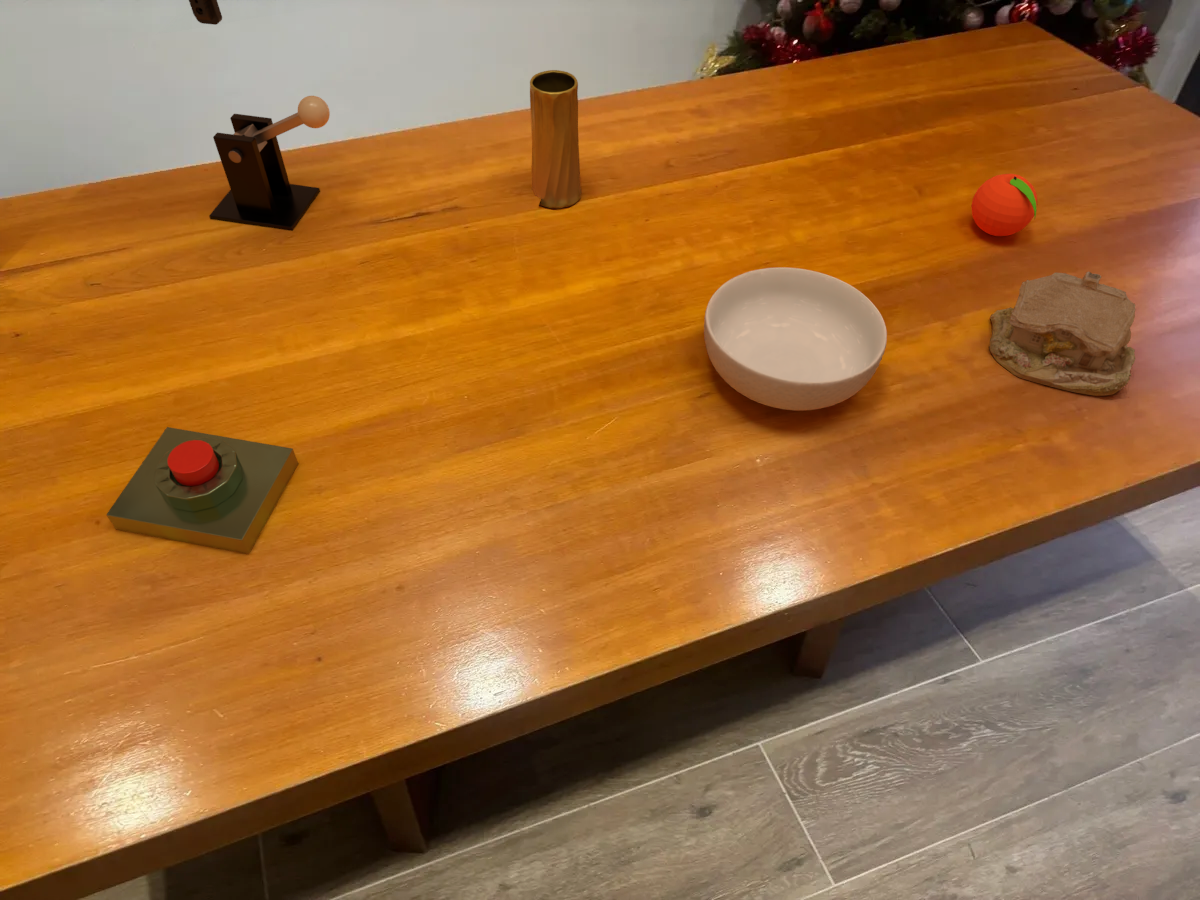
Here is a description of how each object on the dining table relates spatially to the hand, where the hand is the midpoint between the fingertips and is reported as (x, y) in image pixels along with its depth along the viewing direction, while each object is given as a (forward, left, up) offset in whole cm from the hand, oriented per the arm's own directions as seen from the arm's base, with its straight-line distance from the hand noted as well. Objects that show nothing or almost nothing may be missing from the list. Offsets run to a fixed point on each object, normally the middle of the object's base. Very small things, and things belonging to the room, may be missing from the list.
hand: (232, 1), depth 83 cm
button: (+8, -37, -22) cm, 44 cm away
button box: (+8, -37, -26) cm, 46 cm away
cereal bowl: (+56, -11, -26) cm, 63 cm away
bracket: (-5, +3, -26) cm, 26 cm away
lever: (0, +3, -16) cm, 16 cm away
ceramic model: (+83, -2, -26) cm, 87 cm away
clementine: (+79, +18, -26) cm, 85 cm away
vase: (+27, +14, -26) cm, 40 cm away
